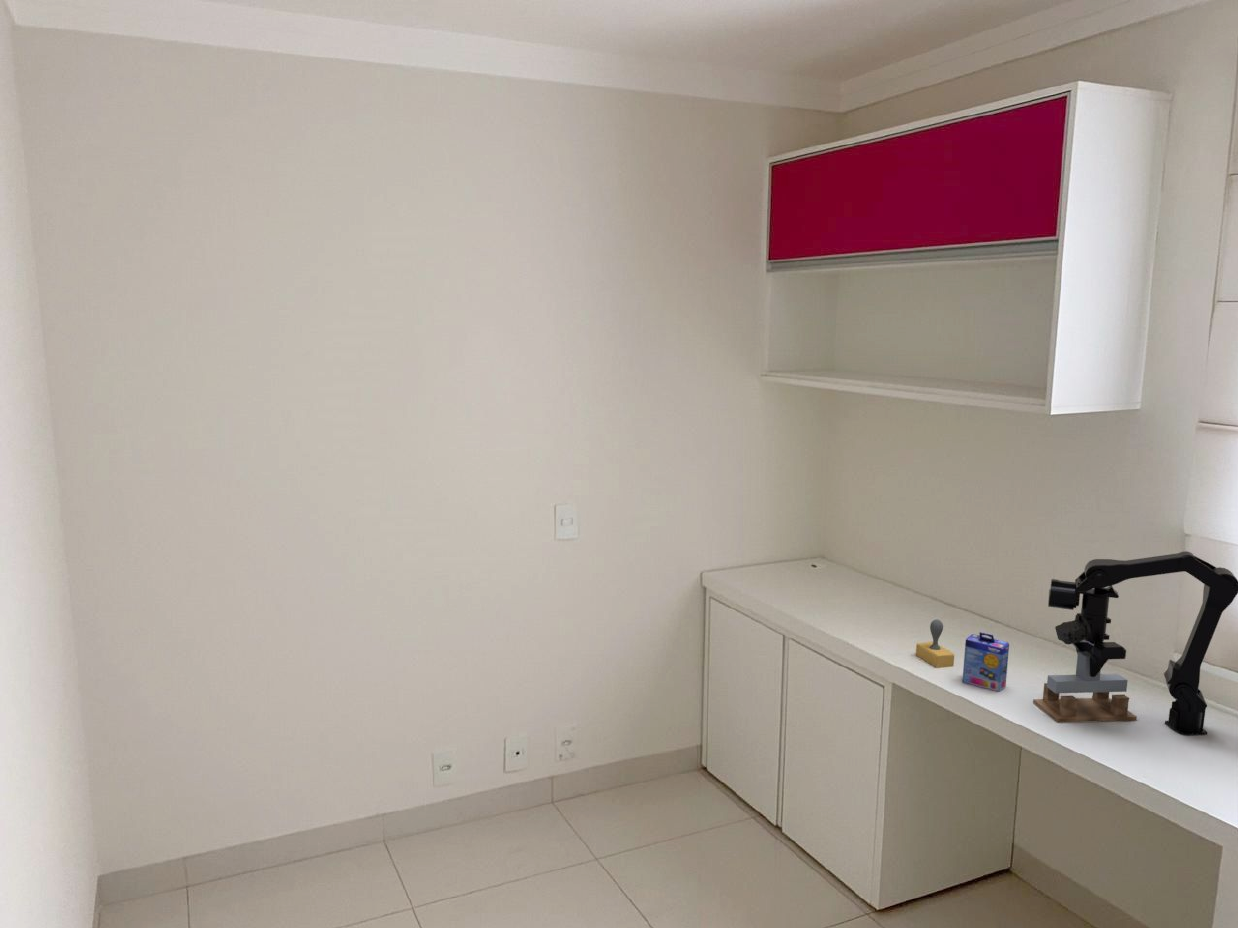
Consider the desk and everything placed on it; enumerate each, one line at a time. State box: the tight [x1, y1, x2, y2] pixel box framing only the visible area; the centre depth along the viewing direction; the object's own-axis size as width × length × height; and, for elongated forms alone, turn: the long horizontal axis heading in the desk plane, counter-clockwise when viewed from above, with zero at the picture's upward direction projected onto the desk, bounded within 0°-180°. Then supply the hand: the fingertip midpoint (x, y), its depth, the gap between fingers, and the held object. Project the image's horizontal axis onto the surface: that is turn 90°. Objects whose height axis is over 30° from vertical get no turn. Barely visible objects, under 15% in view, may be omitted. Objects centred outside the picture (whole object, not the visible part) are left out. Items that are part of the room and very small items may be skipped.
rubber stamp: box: [915, 619, 955, 669], centre depth 258 cm, size 10×6×12 cm, turn 17°
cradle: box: [1032, 682, 1137, 723], centre depth 227 cm, size 20×11×6 cm, turn 95°
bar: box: [1046, 652, 1129, 694], centre depth 226 cm, size 18×4×9 cm, turn 95°
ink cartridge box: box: [961, 631, 1010, 693], centre depth 242 cm, size 10×6×14 cm, turn 51°
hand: (1088, 673), depth 226 cm, fingers closed on bar, 3 cm apart
